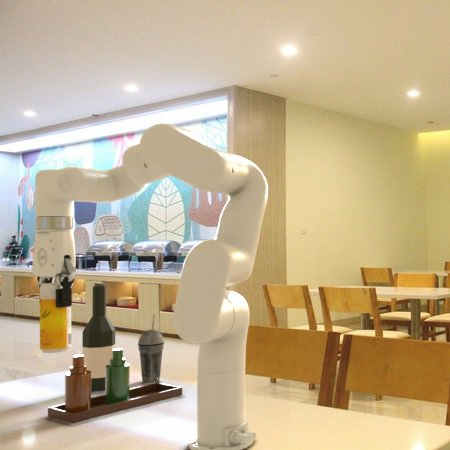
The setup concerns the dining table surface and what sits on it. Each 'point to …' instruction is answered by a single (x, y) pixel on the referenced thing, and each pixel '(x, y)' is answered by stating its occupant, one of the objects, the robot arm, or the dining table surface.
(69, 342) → the beer can
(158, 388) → the tray
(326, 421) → the dining table surface
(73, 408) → the amber bottle
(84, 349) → the wine bottle
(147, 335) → the beverage cup
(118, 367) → the green bottle
